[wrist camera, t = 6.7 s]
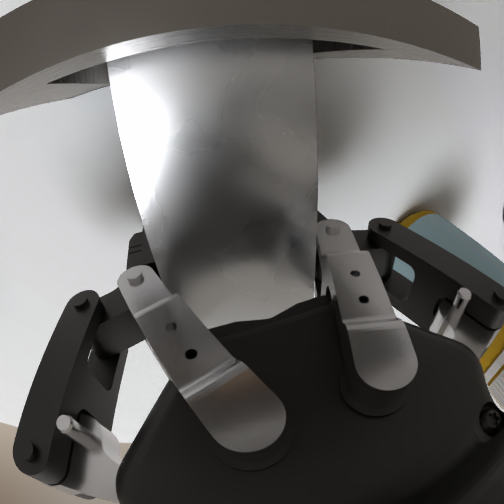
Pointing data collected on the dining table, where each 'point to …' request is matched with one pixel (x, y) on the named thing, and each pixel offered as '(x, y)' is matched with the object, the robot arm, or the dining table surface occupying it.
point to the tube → (225, 170)
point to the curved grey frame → (210, 36)
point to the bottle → (464, 247)
